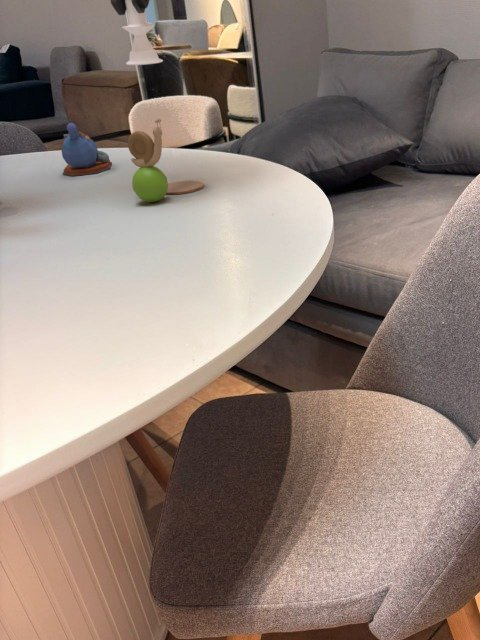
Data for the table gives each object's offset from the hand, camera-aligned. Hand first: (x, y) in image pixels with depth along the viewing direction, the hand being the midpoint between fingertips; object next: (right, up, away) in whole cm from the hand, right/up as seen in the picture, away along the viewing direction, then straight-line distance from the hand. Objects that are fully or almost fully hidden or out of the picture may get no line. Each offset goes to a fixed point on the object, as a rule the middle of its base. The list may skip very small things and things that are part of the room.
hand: (127, 8), depth 88 cm
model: (-19, -7, +41) cm, 46 cm away
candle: (+1, -5, +5) cm, 7 cm away
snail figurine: (+1, -23, +13) cm, 26 cm away
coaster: (+4, -19, +19) cm, 27 cm away
